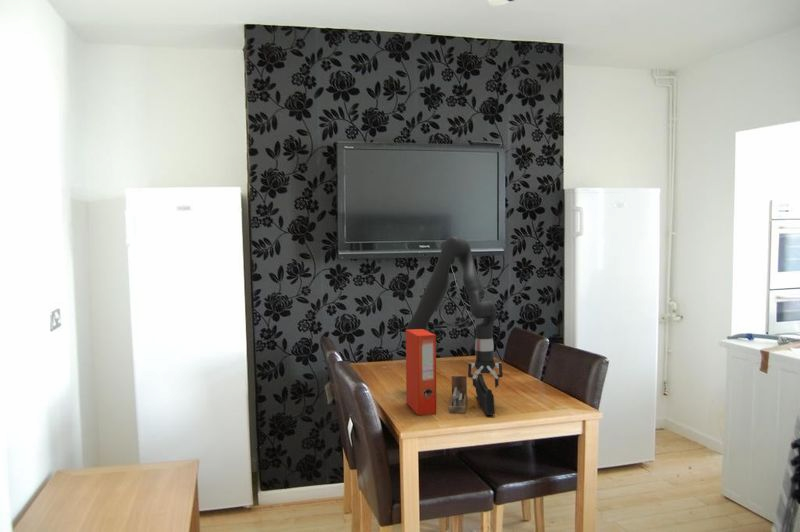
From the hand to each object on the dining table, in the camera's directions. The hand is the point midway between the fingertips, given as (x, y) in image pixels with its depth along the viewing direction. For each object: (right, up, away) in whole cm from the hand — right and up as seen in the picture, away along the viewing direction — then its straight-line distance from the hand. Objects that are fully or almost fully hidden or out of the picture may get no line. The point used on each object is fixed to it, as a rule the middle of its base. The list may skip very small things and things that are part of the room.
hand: (485, 387), depth 239 cm
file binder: (-27, -9, -2) cm, 28 cm away
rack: (-11, -8, +2) cm, 14 cm away
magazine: (0, -8, 0) cm, 8 cm away
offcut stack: (-11, -8, +2) cm, 14 cm away
